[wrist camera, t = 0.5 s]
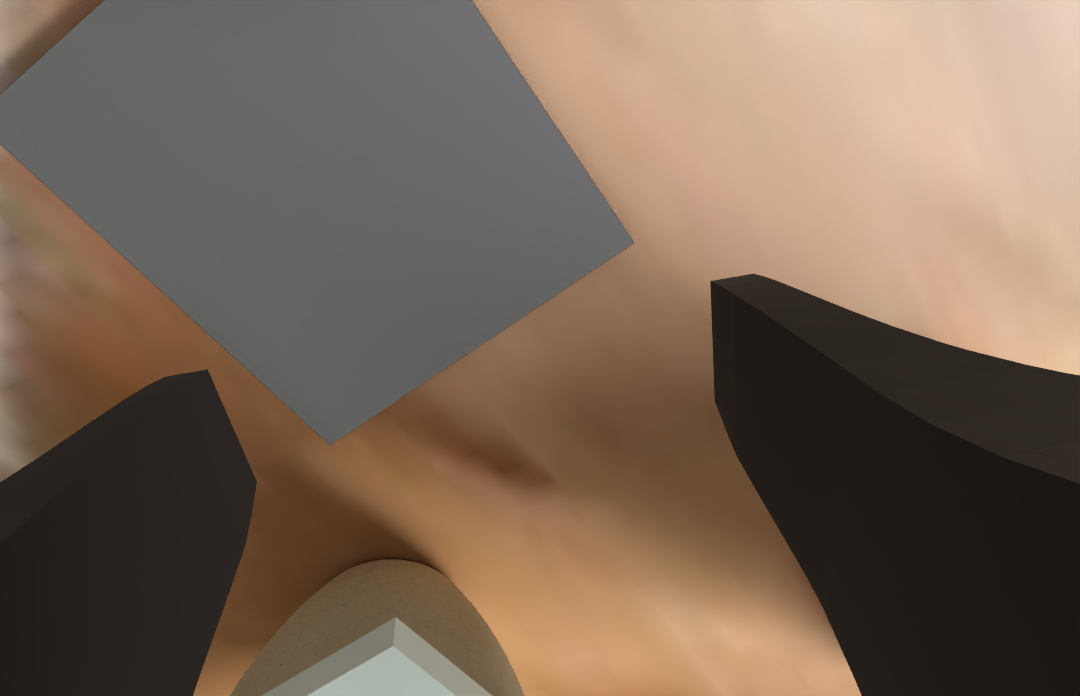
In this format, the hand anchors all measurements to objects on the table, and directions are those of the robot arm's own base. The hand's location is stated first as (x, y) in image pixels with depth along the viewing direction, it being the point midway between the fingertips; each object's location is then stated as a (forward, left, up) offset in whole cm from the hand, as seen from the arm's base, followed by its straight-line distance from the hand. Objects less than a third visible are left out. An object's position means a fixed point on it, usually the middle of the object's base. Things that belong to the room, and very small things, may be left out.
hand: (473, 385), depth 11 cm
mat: (+2, +3, -10) cm, 11 cm away
